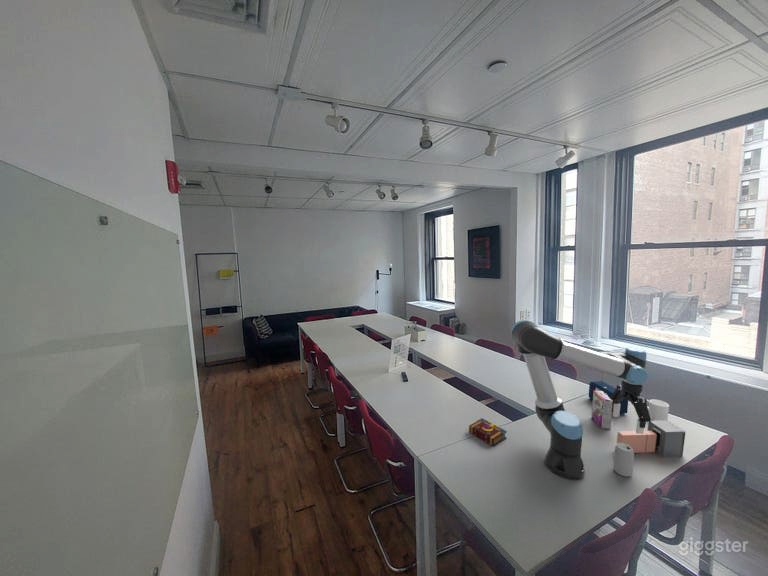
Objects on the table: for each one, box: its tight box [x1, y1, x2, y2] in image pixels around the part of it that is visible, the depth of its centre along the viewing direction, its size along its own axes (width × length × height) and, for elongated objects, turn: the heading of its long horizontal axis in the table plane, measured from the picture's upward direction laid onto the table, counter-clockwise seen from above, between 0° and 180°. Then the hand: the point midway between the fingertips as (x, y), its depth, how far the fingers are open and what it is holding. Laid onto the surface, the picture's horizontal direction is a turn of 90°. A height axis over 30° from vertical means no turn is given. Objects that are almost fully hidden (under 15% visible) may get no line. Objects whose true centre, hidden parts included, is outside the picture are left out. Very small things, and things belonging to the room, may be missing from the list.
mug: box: [646, 399, 670, 421], centre depth 170 cm, size 8×12×10 cm
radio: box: [588, 372, 629, 415], centre depth 182 cm, size 21×9×20 cm, turn 6°
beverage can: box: [612, 442, 635, 477], centre depth 130 cm, size 6×6×12 cm
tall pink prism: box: [616, 430, 657, 454], centre depth 143 cm, size 16×3×9 cm, turn 91°
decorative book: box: [468, 417, 508, 447], centre depth 158 cm, size 11×16×5 cm
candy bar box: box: [591, 390, 613, 430], centre depth 165 cm, size 11×5×16 cm, turn 168°
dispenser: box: [647, 420, 687, 458], centre depth 143 cm, size 9×9×12 cm
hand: (627, 424), depth 142 cm, fingers open, 13 cm apart
